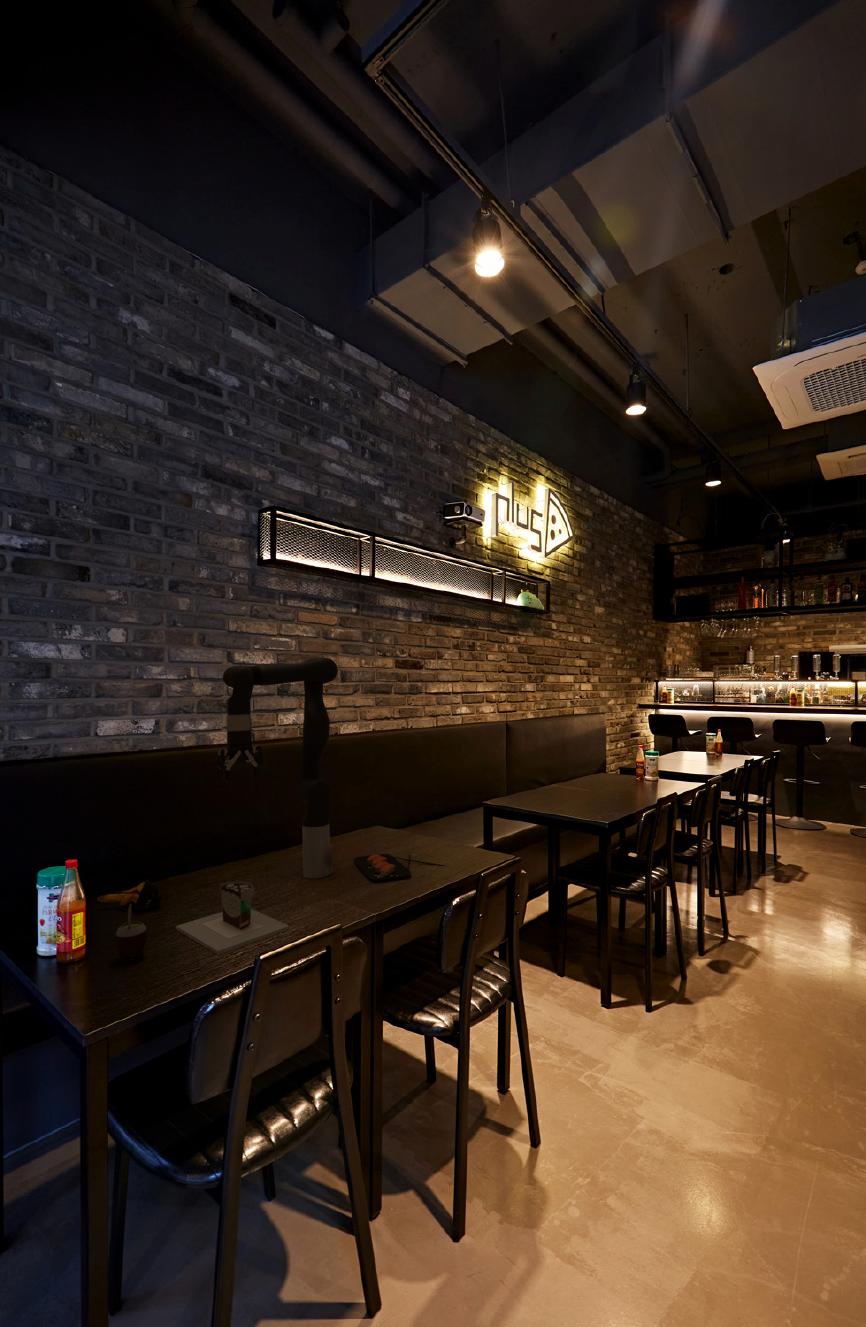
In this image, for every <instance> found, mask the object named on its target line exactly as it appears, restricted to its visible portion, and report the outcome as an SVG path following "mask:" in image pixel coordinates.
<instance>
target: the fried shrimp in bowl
mask: <svg viewBox="0 0 866 1327" xmlns="http://www.w3.org/2000/svg"><path fill="white" fill-rule="evenodd" d="M162 896H163V892H162V891H161V890H160V888H159V887H158V885H157V884H155V883H154V882H151V881H150V879H146V881H145V882H141V883H139V884H138V885H137V886H135V887H132V888H130V889H128V890H124V891H121V893H119V894H118V893H114V894H105V895H100V896H98V897H97V901H98V902H102V903H115V902H119V906H120V908H121V909H122V910H123V911H126V912H128V910H129V904H132V906H131V910H132V911H135V912H137V911H147V910H149V909H152V908H155V907H159V905H160V904H161V902H162Z"/></svg>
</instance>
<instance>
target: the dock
mask: <svg viewBox="0 0 866 1327" xmlns="http://www.w3.org/2000/svg"><path fill="white" fill-rule="evenodd" d="M175 928H176V929H177V930H176V931H177V932H179V933H181V934H182V935H185V936H186V937H187V938H188V939H191V940H193V941H194V942H196V943H198V944H199V945H201V946H203V947H204V948H205V949H207V950H209V951H211V953H214V954H215V955H217V956H219V955H222V954H225V953H227V952H231V951H233V950H235V949H239V948H241V947H245V946H247V945H250V944H253V943H256V942H258V941H261V940H264V939H267V938H270V937H273V936H275V935H278V934H282V933H283V932H284V933H285V932H287V931H289V929H290V926H289V925H288V924H286V923H283V922H282V921H279V920H277V919H275V918H272V917H271V916H268V915H266V914H263V913H261V912H259V911H258V910H255V909H252V908H251V918H250V925H249V926H248V927H246V928H244V929H242V930H239V929H237V928H235V927H233V926H231V925H229V924H227V923H225V922H223V915H222V911H221V912H218V913H214V914H210V915H207V916H203V917H201V918H198V919H195V920H191V921H188V922H185V923H181V924H177V925H175Z"/></svg>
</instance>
